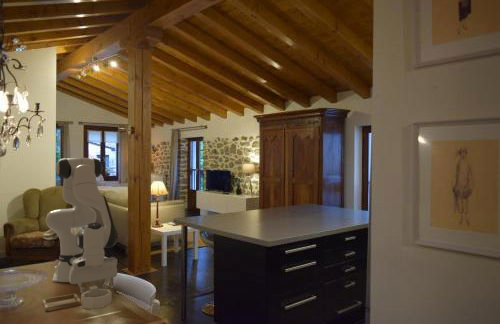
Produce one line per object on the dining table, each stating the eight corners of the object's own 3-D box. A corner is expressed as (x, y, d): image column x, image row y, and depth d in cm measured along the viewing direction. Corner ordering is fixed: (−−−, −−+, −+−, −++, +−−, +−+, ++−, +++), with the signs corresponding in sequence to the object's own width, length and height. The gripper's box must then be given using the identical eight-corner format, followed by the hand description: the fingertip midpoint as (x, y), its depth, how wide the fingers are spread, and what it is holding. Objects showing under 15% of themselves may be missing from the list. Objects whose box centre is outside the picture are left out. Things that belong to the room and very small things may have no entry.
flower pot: (101, 299, 175) (101, 280, 175) (83, 297, 177) (83, 279, 177) (112, 292, 184) (112, 274, 184) (95, 290, 186) (95, 273, 186)
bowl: (79, 303, 169) (79, 292, 169) (106, 298, 176) (106, 287, 176) (85, 312, 159) (85, 300, 159) (113, 306, 166) (113, 294, 166)
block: (89, 294, 168) (89, 287, 168) (96, 293, 170) (96, 285, 170) (91, 297, 165) (91, 289, 165) (98, 295, 167) (98, 288, 167)
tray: (42, 304, 168) (42, 299, 168) (75, 297, 176) (75, 293, 176) (45, 312, 158) (45, 307, 158) (80, 305, 166) (80, 300, 166)
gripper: (115, 255, 176) (115, 283, 176) (68, 261, 165) (68, 292, 164) (119, 257, 171) (119, 287, 171) (71, 264, 159) (70, 296, 159)
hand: (93, 290), depth 168 cm, fingers open, 8 cm apart
